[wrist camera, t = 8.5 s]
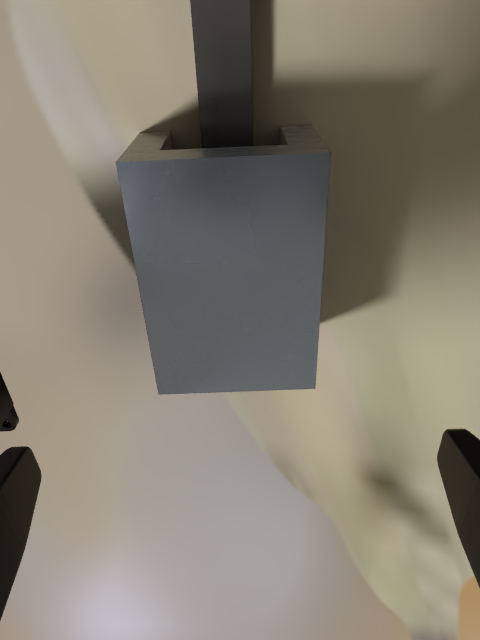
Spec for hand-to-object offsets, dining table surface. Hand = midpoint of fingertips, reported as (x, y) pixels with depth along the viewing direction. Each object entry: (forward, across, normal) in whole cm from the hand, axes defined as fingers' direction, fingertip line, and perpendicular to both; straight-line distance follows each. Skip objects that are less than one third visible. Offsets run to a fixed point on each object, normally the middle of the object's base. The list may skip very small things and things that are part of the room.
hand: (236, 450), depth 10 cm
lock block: (+11, 0, 0) cm, 11 cm away
